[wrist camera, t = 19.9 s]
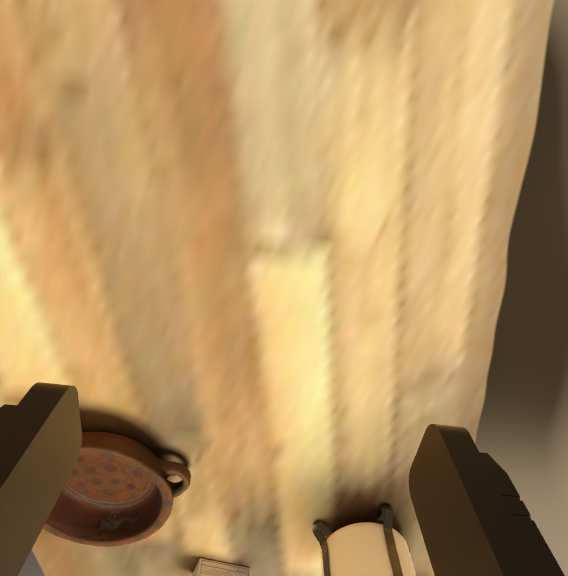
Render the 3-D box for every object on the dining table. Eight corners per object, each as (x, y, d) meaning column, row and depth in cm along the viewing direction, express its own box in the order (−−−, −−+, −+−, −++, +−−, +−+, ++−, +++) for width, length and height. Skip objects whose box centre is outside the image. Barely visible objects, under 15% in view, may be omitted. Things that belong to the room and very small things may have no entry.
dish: (202, 509, 58) (195, 546, 53) (41, 513, 58) (21, 550, 53) (184, 413, 50) (175, 446, 45) (-3, 418, 50) (-30, 452, 45)
